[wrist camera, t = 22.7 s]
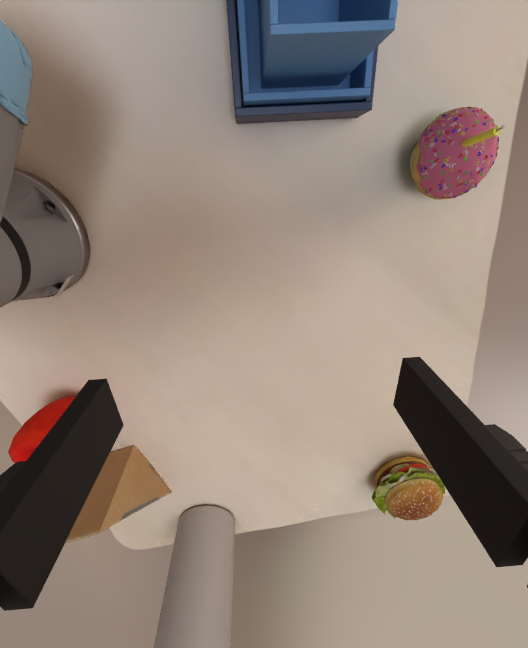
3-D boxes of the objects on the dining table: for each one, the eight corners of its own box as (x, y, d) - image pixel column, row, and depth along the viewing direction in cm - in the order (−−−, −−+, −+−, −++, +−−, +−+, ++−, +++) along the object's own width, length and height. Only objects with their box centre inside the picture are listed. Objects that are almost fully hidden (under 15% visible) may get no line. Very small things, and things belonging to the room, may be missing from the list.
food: (413, 440, 57) (437, 477, 50) (442, 473, 63) (467, 511, 56) (354, 471, 61) (368, 510, 54) (387, 501, 66) (403, 540, 59)
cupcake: (382, 151, 34) (443, 140, 24) (449, 95, 32) (550, 55, 22) (413, 211, 38) (479, 225, 27) (476, 164, 35) (575, 159, 25)
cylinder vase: (167, 520, 65) (126, 698, 43) (206, 496, 62) (183, 675, 40) (207, 541, 70) (189, 711, 48) (246, 519, 67) (245, 691, 44)
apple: (67, 430, 52) (26, 489, 42) (36, 394, 48) (-18, 449, 38) (113, 418, 51) (81, 474, 41) (84, 380, 47) (43, 433, 37)
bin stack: (356, 117, 33) (378, 106, 27) (236, 123, 32) (234, 113, 27) (371, -70, 26) (403, -133, 21) (222, -65, 26) (216, -127, 21)
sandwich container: (135, 502, 62) (105, 592, 48) (94, 456, 55) (45, 546, 42) (172, 492, 61) (152, 581, 48) (135, 444, 54) (98, 532, 41)
